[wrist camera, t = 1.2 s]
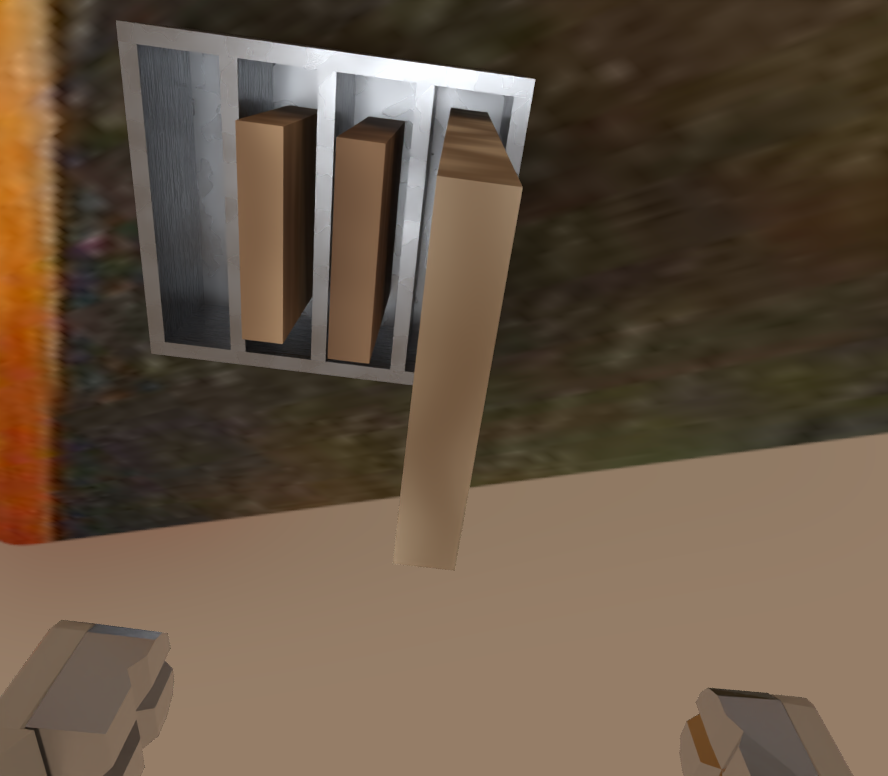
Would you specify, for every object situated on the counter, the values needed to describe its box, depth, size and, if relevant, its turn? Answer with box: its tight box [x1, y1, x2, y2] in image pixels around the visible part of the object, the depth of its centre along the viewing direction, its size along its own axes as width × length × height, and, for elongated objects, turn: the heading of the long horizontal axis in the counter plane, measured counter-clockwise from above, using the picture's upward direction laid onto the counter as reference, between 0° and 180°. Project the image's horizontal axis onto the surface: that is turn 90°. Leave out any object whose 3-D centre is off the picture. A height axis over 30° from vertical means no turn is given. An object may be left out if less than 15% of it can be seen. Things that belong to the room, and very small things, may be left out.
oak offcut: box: [235, 105, 317, 344], centre depth 32 cm, size 2×10×9 cm, turn 173°
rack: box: [116, 21, 535, 385], centre depth 34 cm, size 18×16×8 cm
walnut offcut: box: [328, 116, 405, 364], centre depth 32 cm, size 2×10×10 cm, turn 173°
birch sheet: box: [393, 107, 523, 570], centre depth 27 cm, size 2×12×22 cm, turn 173°
